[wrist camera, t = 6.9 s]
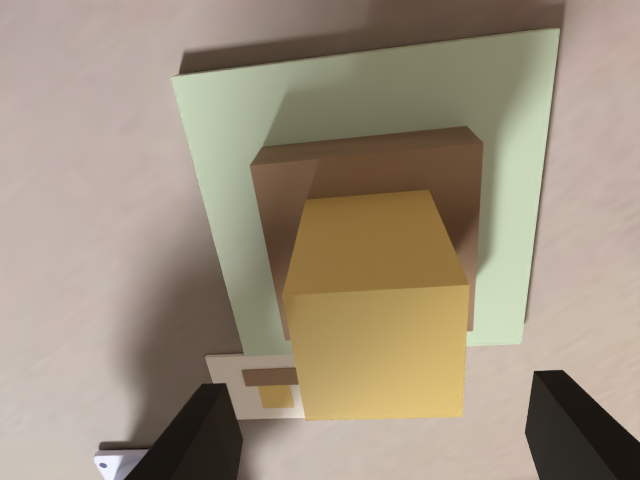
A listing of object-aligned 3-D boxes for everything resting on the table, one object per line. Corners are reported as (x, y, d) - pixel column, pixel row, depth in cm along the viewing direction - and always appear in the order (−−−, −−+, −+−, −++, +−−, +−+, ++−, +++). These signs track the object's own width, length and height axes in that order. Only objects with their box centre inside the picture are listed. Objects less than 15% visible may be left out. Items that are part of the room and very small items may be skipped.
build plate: (515, 333, 22) (521, 343, 21) (247, 346, 23) (244, 356, 23) (550, 27, 15) (560, 28, 15) (177, 74, 17) (170, 77, 16)
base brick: (460, 297, 20) (473, 331, 18) (291, 307, 21) (285, 340, 19) (466, 126, 16) (483, 142, 14) (262, 146, 17) (249, 165, 15)
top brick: (428, 292, 17) (462, 416, 12) (319, 298, 18) (305, 420, 12) (428, 189, 15) (469, 285, 10) (305, 199, 16) (281, 295, 10)
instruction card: (339, 413, 25) (339, 418, 25) (225, 417, 26) (224, 421, 26) (330, 349, 23) (330, 353, 23) (205, 355, 24) (204, 358, 24)
